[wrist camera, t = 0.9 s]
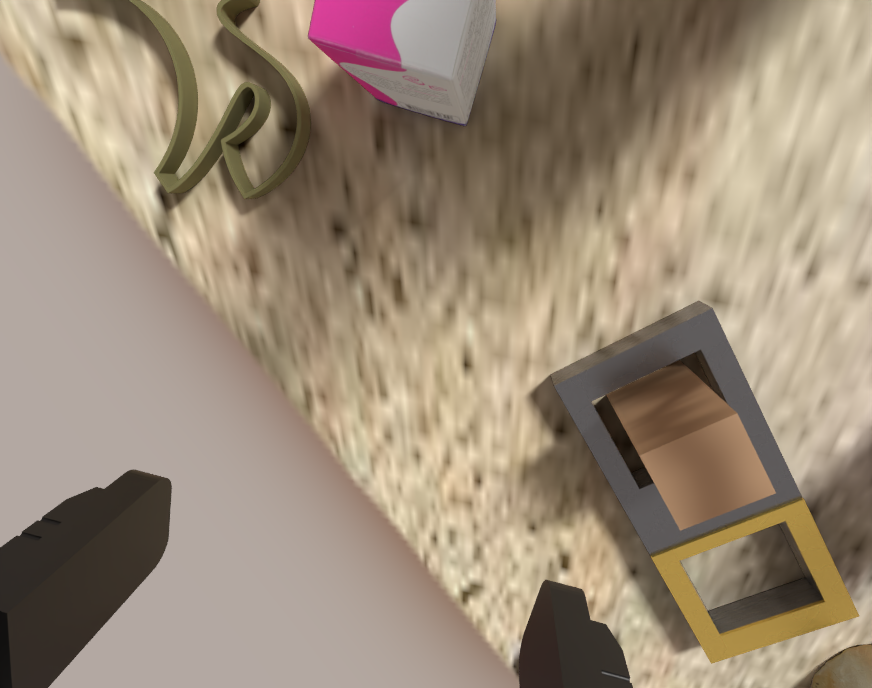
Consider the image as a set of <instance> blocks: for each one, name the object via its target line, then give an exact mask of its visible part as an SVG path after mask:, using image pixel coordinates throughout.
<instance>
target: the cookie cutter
mask: <svg viewBox="0 0 872 688" xmlns="http://www.w3.org/2000/svg"><path fill="white" fill-rule="evenodd" d="M129 1H130V2H132V3H133V4H134V5H135V6H137V7H138V8H139V9H140V10H141V11H142V12H143V13H144V14H145V15H146V16H147V17H148V18H149V19H150V21H151V22H152V23H153V24H154V26H155V27H156V28H157V30H158V31H159V33H160V34H161V36H162V38H163V40H164V41H165V43H166V45H167V48H168V50H169V52H170V55H171V57H172V60H173V64H174V67H175V71H176V76H177V83H178V114H177V120H176V125H175V129H174V133H173V136H172V139H171V142H170V144H169V147H168V149H167V151H166V153H165V155H164V157H163V159H162V161H161V162H160V164H159V166H158V167H157V169H156V170H155V172H154V174H155V175H156V177H157V178H158V180H159V181H160V182H161V184H162V185H163V187H164V188H165V190H166V191H167V193H184V192H186V191H188V190H189V189H191V188H192V187H193V186H195V185H196V184H197V183H198V182H199V181H200V180H201V179H202V178H203V177H204V176H205V175H206V174H207V173H208V172H209V170H210V169H211V168H212V167H213V165H214V164H215V163H216V161H217V160H218V158H219V157H220V155H221V154H222V152H223V154H224V158H225V161H226V164H227V167H228V169H229V172H230V174H231V177H232V179H233V181H234V183H235V185H236V186H237V188H238V190H239V191H240V193H241V195H242V196H243V198H244V199H253V198H258V197H260V196H262V195H264V194H266V193H268V192H270V191H271V190H273V189H274V188H276V187H277V186H279V185H280V184H281V183H282V182H283V181H284V180H285V179H287V178H288V176H289V175H290V174H291V173H292V172H293V171H294V169H295V168H296V167H297V165H298V164H299V162H300V160H301V159H302V157H303V155H304V152H305V150H306V147H307V144H308V140H309V136H310V128H311V117H310V110H309V105H308V102H307V99H306V96H305V94H304V92H303V90H302V88H301V86H300V84H299V83H298V81H297V80H296V79H295V77H294V76H293V75H292V74H291V73H290V72H289V71H288V70H287V69H286V68H285V67H284V66H283V65H282V64H281V63H280V62H279V61H277V60H276V59H275V58H274V57H272V56H271V55H270V54H269V53H267V52H266V51H265V50H263V49H262V48H261V47H259V46H258V45H256V44H255V43H254V42H253V41H251V40H250V39H249V38H247V37H246V36H245V35H244V34H243V33H242V32H241V31H240V30H239V29H238V27H237V25H236V23H235V18H236V16H237V15H238V14H239V13H240V12H242V11H244V10H246V9H249V8H253V7H257V6H258V5H259V3H260V0H221V1H220V2H219V3H218V5H217V16H218V18H219V20H220V22H221V23H222V24H223V25H224V26H225V28H226V29H228V30H229V31H230V32H231V33H232V34H233V35H235V36H236V37H237V38H238V39H240V40H241V41H242V42H244V43H245V44H246V45H248V46H249V47H251V48H252V49H253V50H255V51H256V52H257V53H258V54H260V55H261V56H262V57H263V58H265V59H266V60H267V61H268V62H269V63H270V64H271V65H272V66H274V68H275V69H276V70H277V71H278V72H279V73H280V74H281V75H282V77H283V78H284V80H285V81H286V83H287V84H288V86H289V88H290V90H291V92H292V95H293V98H294V101H295V105H296V111H297V128H296V134H295V138H294V142H293V145H292V147H291V150H290V152H289V154H288V156H287V157H286V159H285V161H284V162H283V164H282V165H281V166H280V168H279V169H278V170H277V171H276V172H275V173H274V174H273V175H272V176H271V177H270V178H269V179H268V180H267V181H265V182H264V183H263V184H261V185H260V186H258V187H257V188H255V189H254V187H253V186H252V184H251V182H250V180H249V178H248V176H247V174H246V171H245V169H244V166H243V163H242V160H241V156H240V152H239V146H238V145H239V144H240V143H242V142H244V141H245V140H247V139H248V138H250V137H251V136H252V135H254V134H255V133H256V132H257V131H258V130H259V129H260V128H261V127H262V126H263V124H264V123H265V121H266V120H267V118H268V116H269V113H270V108H271V100H270V96H269V94H268V92H267V91H266V90H265V89H263V88H261V87H259V86H257V85H255V84H252V83H250V82H245V83H243V84H242V85H240V87H239V88H238V89H237V91H236V92H235V94H234V96H233V98H232V99H231V101H230V103H229V105H228V107H227V109H226V111H225V113H224V115H223V117H222V119H221V121H220V123H219V125H218V127H217V128H216V130H215V132H214V134H213V136H212V137H211V139H210V141H209V142H208V144H207V146H206V147H205V149H204V150H203V152H202V153H201V155H200V156H199V158H198V159H197V161H196V162H195V163H194V165H193V166H192V167H191V168H190V169H189V171H188V172H187V173H186V174H185V175H184V176H183V177H182V178H181V179H180V180H178V178H177V177H176V175H175V173H176V171H177V170H178V168H179V167H180V165H181V163H182V161H183V160H184V158H185V156H186V154H187V151H188V149H189V147H190V144H191V141H192V138H193V135H194V131H195V126H196V121H197V113H198V92H197V83H196V78H195V73H194V70H193V66H192V63H191V60H190V58H189V55H188V53H187V51H186V49H185V47H184V45H183V43H182V41H181V40H180V38H179V36H178V35H177V34H176V32H175V31H174V29H173V28H172V27H171V26H170V24H169V23H168V22H167V21H166V20H165V19H164V18H163V17H162V16H161V15H160V14H159V13H158V12H156V11H155V10H154V9H153V8H151V7H150V6H149V5H147V4H146V3H144V2H143V1H141V0H129ZM254 96H255V104H254V108H253V111H252V113H251V114H250V116H249V118H248V119H247V120H246V121H245V122H244V123H243V124H242V125H241V126H240V127H239V128H238V129H237V130H236V128H237V126H238V125H239V123H240V121H241V119H242V117H243V115H244V113H245V111H246V109H247V107H248V105H249V104H250V102H251V100H252V99H253V97H254Z"/></svg>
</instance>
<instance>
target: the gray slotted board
mask: <svg viewBox="0 0 872 688" xmlns="http://www.w3.org/2000/svg"><path fill="white" fill-rule="evenodd" d="M694 352H695V354H696V356H697V358H698V360H699V362H700V364H701V366H702V368H703V370H704V372H705V374H706V376H707V378H708V380H709V382H710V384H711V386H712V388H713V390H714V392H715V393H716V394H717V395H718V396H719V397H720V398H721V399H722V400H723V401H725V402H726V403H727V404H728V405H729V406H730V407H731V408H732V409H733V410H734V411H735V412H737V414H738V416H739V418H740V420H741V422H742V424H743V426H744V428H745V430H746V432H747V434H748V436H749V438H750V440H751V442H752V445H753V447H754V449H755V451H756V453H757V455H758V457H759V459H760V461H761V463H762V465H763V467H764V469H765V471H766V473H767V475H768V477H769V479H770V482H771V484H772V486H773V488H774V490H775V492H776V494H773V495H771V496H768V497H765V498H763V499H760V500H758V501H755V502H753V503H750V504H747V505H745V506H742V507H740V508H737V509H735V510H732V511H729V512H727V513H724V514H722V515H719V516H717V517H714V518H711V519H709V520H706V521H704V522H701V523H699V524H696V525H693V526H691V527H688V528H686V529H683V530H681V531H680V529H679V527H678V526H677V524H676V522H675V520H674V518H673V516H672V515H671V513H670V511H669V509H668V507H667V506H666V504H665V502H664V500H663V498H662V496H661V495H660V493H659V491H658V489H657V487H656V485H655V484H654V482H653V480H652V478H651V476H650V474H649V473H648V471H647V469H646V467H644V468H642V469H639V470H637V471H635V472H632V473H631V471H630V469H629V467H628V466H627V464H626V462H625V460H624V458H623V457H622V455H621V453H620V451H619V449H618V448H617V446H616V444H615V442H614V440H613V439H612V437H611V435H610V433H609V431H608V430H607V428H606V426H605V424H604V422H603V421H602V419H601V417H600V415H599V413H598V411H597V410H596V408H595V406H594V404H593V402H592V401H593V400H595V399H597V398H599V397H601V396H604V395H606V394H608V393H610V392H612V391H614V390H616V389H618V388H620V387H623V386H625V385H627V384H629V383H631V382H633V381H635V380H637V379H639V378H642V377H644V376H646V375H648V374H650V373H652V372H654V371H656V370H658V369H661V368H663V367H665V366H667V365H669V364H671V363H673V362H675V361H678V360H680V359H682V358H684V357H686V356H688V355H690V354H692V353H694ZM551 378H552V381H553V384H554V387H555V389H556V390H557V392H558V394H559V396H560V397H561V399H562V401H563V403H564V404H565V406H566V408H567V410H568V412H569V413H570V415H571V417H572V419H573V420H574V422H575V424H576V426H577V427H578V429H579V431H580V433H581V434H582V436H583V438H584V440H585V441H586V443H587V445H588V447H589V449H590V450H591V452H592V454H593V456H594V457H595V459H596V461H597V463H598V464H599V466H600V468H601V470H602V471H603V473H604V475H605V477H606V478H607V480H608V482H609V484H610V486H611V487H612V489H613V491H614V493H615V494H616V496H617V498H618V500H619V501H620V503H621V505H622V507H623V508H624V510H625V512H626V514H627V515H628V517H629V519H630V521H631V523H632V524H633V526H634V528H635V530H636V531H637V533H638V535H639V537H640V538H641V540H642V542H643V544H644V545H645V547H646V549H647V551H648V552H649V554H650V556H651V558H652V560H653V562H654V564H655V565H656V567H657V569H658V571H659V572H660V574H661V576H662V578H663V579H664V581H665V583H666V585H667V586H668V588H669V590H670V592H671V593H672V595H673V597H674V599H675V601H676V602H677V604H678V606H679V608H680V609H681V611H682V613H683V615H684V616H685V618H686V620H687V622H688V623H689V625H690V627H691V629H692V630H693V632H694V634H695V636H696V637H697V639H698V641H699V643H700V645H701V646H702V648H703V650H704V652H705V653H706V655H707V657H708V659H709V660H710V662H711V664H712V663H715V662H718V661H721V660H724V659H727V658H730V657H733V656H737V655H740V654H743V653H746V652H749V651H752V650H755V649H758V648H762V647H765V646H768V645H771V644H774V643H777V642H780V641H783V640H787V639H790V638H793V637H796V636H799V635H802V634H805V633H808V632H812V631H815V630H818V629H821V628H824V627H827V626H830V625H833V624H837V623H840V622H843V621H846V620H849V619H852V618H855V617H859V614H858V612H857V610H856V608H855V606H854V604H853V602H852V600H851V597H850V595H849V593H848V591H847V589H846V587H845V585H844V583H843V581H842V578H841V576H840V574H839V572H838V570H837V568H836V566H835V564H834V562H833V559H832V557H831V555H830V553H829V551H828V549H827V547H826V545H825V543H824V540H823V538H822V536H821V534H820V532H819V530H818V528H817V526H816V524H815V521H814V519H813V517H812V515H811V513H810V511H809V509H808V507H807V504H806V502H805V500H804V499H803V498H802V496H801V494H800V492H799V490H798V488H797V485H796V483H795V481H794V479H793V477H792V475H791V473H790V471H789V469H788V466H787V464H786V462H785V460H784V458H783V456H782V454H781V452H780V450H779V447H778V445H777V443H776V441H775V439H774V437H773V435H772V433H771V431H770V428H769V426H768V424H767V422H766V420H765V418H764V416H763V414H762V412H761V409H760V407H759V405H758V403H757V401H756V399H755V397H754V395H753V393H752V390H751V388H750V386H749V384H748V382H747V380H746V378H745V376H744V374H743V371H742V369H741V367H740V365H739V363H738V361H737V359H736V357H735V355H734V352H733V350H732V348H731V346H730V344H729V342H728V340H727V338H726V336H725V333H724V331H723V329H722V327H721V325H720V323H719V321H718V319H717V317H716V314H715V312H714V310H713V308H711V307H709V306H708V305H706V304H704V303H702V302H700V301H697V302H695V303H693V304H691V305H689V306H687V307H685V308H683V309H681V310H679V311H677V312H675V313H673V314H671V315H669V316H667V317H665V318H663V319H661V320H659V321H657V322H655V323H653V324H651V325H649V326H647V327H645V328H643V329H641V330H639V331H637V332H635V333H633V334H631V335H629V336H627V337H625V338H623V339H621V340H619V341H617V342H615V343H613V344H611V345H609V346H607V347H605V348H603V349H601V350H599V351H597V352H595V353H593V354H591V355H589V356H587V357H585V358H583V359H581V360H579V361H577V362H575V363H573V364H571V365H569V366H567V367H565V368H563V369H561V370H559V371H557V372H555V373H553V374H551ZM776 524H779V525H780V527H781V529H782V531H783V533H784V535H785V537H786V539H787V541H788V543H789V545H790V547H791V549H792V551H793V553H794V555H795V557H796V559H797V561H798V563H799V565H800V567H801V569H802V571H803V573H804V575H805V577H806V578H803V579H800V580H797V581H794V582H791V583H788V584H786V585H783V586H780V587H777V588H774V589H771V590H768V591H765V592H762V593H760V594H757V595H754V596H751V597H748V598H745V599H742V600H739V601H736V602H733V603H731V604H728V605H725V606H722V607H719V608H716V609H713V610H710V611H708V610H707V608H706V607H705V605H704V603H703V601H702V599H701V598H700V596H699V594H698V592H697V590H696V589H695V587H694V585H693V583H692V581H691V579H690V578H689V576H688V574H687V572H686V570H685V569H684V567H683V565H682V563H681V561H680V560H683V559H685V558H688V557H691V556H693V555H696V554H699V553H701V552H704V551H707V550H709V549H712V548H715V547H717V546H720V545H723V544H725V543H728V542H731V541H733V540H736V539H739V538H741V537H744V536H747V535H749V534H752V533H755V532H757V531H760V530H763V529H765V528H768V527H771V526H773V525H776Z"/></svg>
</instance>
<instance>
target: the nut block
mask: <svg viewBox="0 0 872 688" xmlns="http://www.w3.org/2000/svg"><path fill="white" fill-rule="evenodd" d="M606 396H607V398H608V399H609V401H610V403H611V405H612V407H613V409H614V410H615V412H616V414H617V416H618V418H619V420H620V421H621V423H622V425H623V427H624V429H625V431H626V432H627V434H628V436H629V438H630V440H631V442H632V443H633V445H634V447H635V449H636V451H637V453H638V454H639V456H640V458H641V460H642V462H643V464H644V465H645V467H646V469H647V471H648V473H649V474H650V476H651V478H652V480H653V482H654V484H655V485H656V487H657V489H658V491H659V493H660V495H661V496H662V498H663V500H664V502H665V504H666V506H667V507H668V509H669V511H670V513H671V515H672V516H673V518H674V520H675V522H676V524H677V526H678V527H679V529H680V531H681V530H683V529H686V528H688V527H691V526H693V525H696V524H699V523H701V522H704V521H706V520H709V519H711V518H714V517H717V516H719V515H722V514H724V513H727V512H729V511H732V510H735V509H737V508H740V507H742V506H745V505H747V504H750V503H753V502H755V501H758V500H760V499H763V498H765V497H768V496H771V495H773V494H776V492H775V490H774V488H773V486H772V484H771V482H770V479H769V477H768V475H767V473H766V471H765V469H764V467H763V465H762V463H761V461H760V459H759V457H758V455H757V453H756V451H755V449H754V447H753V445H752V442H751V440H750V438H749V436H748V434H747V432H746V430H745V428H744V426H743V424H742V422H741V420H740V418H739V416H738V414H737V412H735V411H734V410H733V409H732V408H731V407H730V406H729V405H728V404H727V403H726V402H725V401H723V400H722V399H721V398H720V397H719V396H718V395H717V394H716V393H715V392H714V391H713V390H712V389H710V388H709V387H708V386H707V385H706V384H705V383H704V382H703V381H702V380H701V379H700V378H698V377H697V376H696V375H695V374H694V373H693V372H692V371H691V370H690V369H689V368H688V367H687V366H685V365H684V364H683V363H682V362H681V361H680V360H678V361H676V362H674V363H672V364H670V365H668V366H666V367H664V368H662V369H659V370H657V371H655V372H653V373H651V374H649V375H647V376H645V377H642V378H640V379H638V380H636V381H634V382H632V383H630V384H628V385H626V386H623V387H621V388H619V389H617V390H615V391H613V392H611V393H609V394H607V395H606Z"/></svg>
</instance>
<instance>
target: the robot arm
mask: <svg viewBox="0 0 872 688" xmlns="http://www.w3.org/2000/svg"><path fill="white" fill-rule="evenodd" d="M171 487H172V486H171V482H170V480H169V479H168V478H164V477H161V476H157V475H153V474H149V473H145V472H141V471H138V470H130V471H127V472H126V473H125V474H123V475H122V476H121V477H119V478H118V479H117V480H115V481H114V482H113V483H112V484H110V485H109V486H108V487H106V488H105V489H102V488H98V487H95V488H93V489H90V490H88V491H86V492H83V493H81V494H78V495H76V496H74V497H71V498H69V499H66V500H65V501H64V502H62V503H61V504H60V505H58V506H57V507H55V508H54V509H53V510H51V511H50V512H48V513H47V514H46V515H44V516H43V517H42V520H41V521H36V522H35V523H34V524H32V525H31V526H29V527H28V528H27V529H25V530H24V531H23V532H22V534H21V535H20V536H16V537H14V538H13V539H11V540H10V541H9V542H7V543H6V544H5V545H3V546H2V547H0V688H48V687H49V686H50V685H51V684H52V682H53V681H54V680H55V679H56V678H57V677H58V676H59V675H60V674H61V672H62V671H63V670H64V669H65V668H66V667H67V666H68V665H69V664H70V662H71V661H72V660H73V659H74V658H75V657H76V656H77V655H78V653H79V652H80V651H81V650H82V649H83V648H84V647H85V645H86V644H87V643H88V642H89V641H90V640H91V639H92V638H93V636H95V634H96V633H97V632H98V631H99V630H100V629H101V628H102V627H103V625H104V624H105V623H106V622H107V621H108V620H109V619H110V618H111V617H112V615H113V614H114V613H115V612H116V611H117V610H118V609H119V608H120V606H121V605H122V604H123V603H124V602H125V601H126V600H127V599H128V598H129V596H130V595H131V594H132V593H133V592H134V591H135V590H136V589H137V587H138V586H139V585H140V584H141V583H142V582H143V581H144V580H145V579H146V577H147V576H148V575H149V574H150V573H151V572H152V570H153V569H154V568H155V567H156V565H157V564H158V563H159V561H160V559H161V557H162V556H163V553H164V551H165V548H166V546H167V542H168V537H169V522H170V505H171V489H172V488H171ZM519 684H520V688H633V686H632V683H630V676H629V672H628V668H627V665H626V661H625V657H624V654H623V650H622V648H621V647H620V645H619V644H618V642H617V641H616V639H615V638H614V636H613V635H612V633H611V631H610V630H609V628H608V627H607V625H606V624H603V623H599V622H596V621H592V620H590V616H589V611H588V607H587V602H586V597H585V594H584V591H583V590H582V589H580V588H576V587H572V586H568V585H564V584H561V583H557V582H553V581H549V580H545V581H544V582H543V583H542V585H541V588H540V591H539V593H538V596H537V599H536V602H535V604H534V607H533V610H532V613H531V615H530V618H529V621H528V624H527V626H526V629H525V632H524V635H523V638H522V643H521V648H520V656H519Z"/></svg>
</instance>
